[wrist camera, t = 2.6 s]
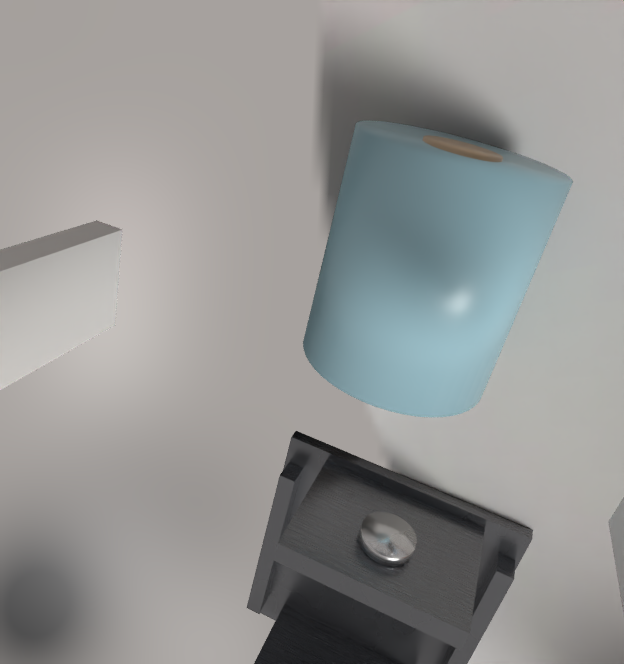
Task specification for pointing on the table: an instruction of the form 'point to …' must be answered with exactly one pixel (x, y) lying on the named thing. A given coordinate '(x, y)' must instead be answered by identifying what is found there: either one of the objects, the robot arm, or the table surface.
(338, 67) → the table surface
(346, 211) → the roll
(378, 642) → the holder
